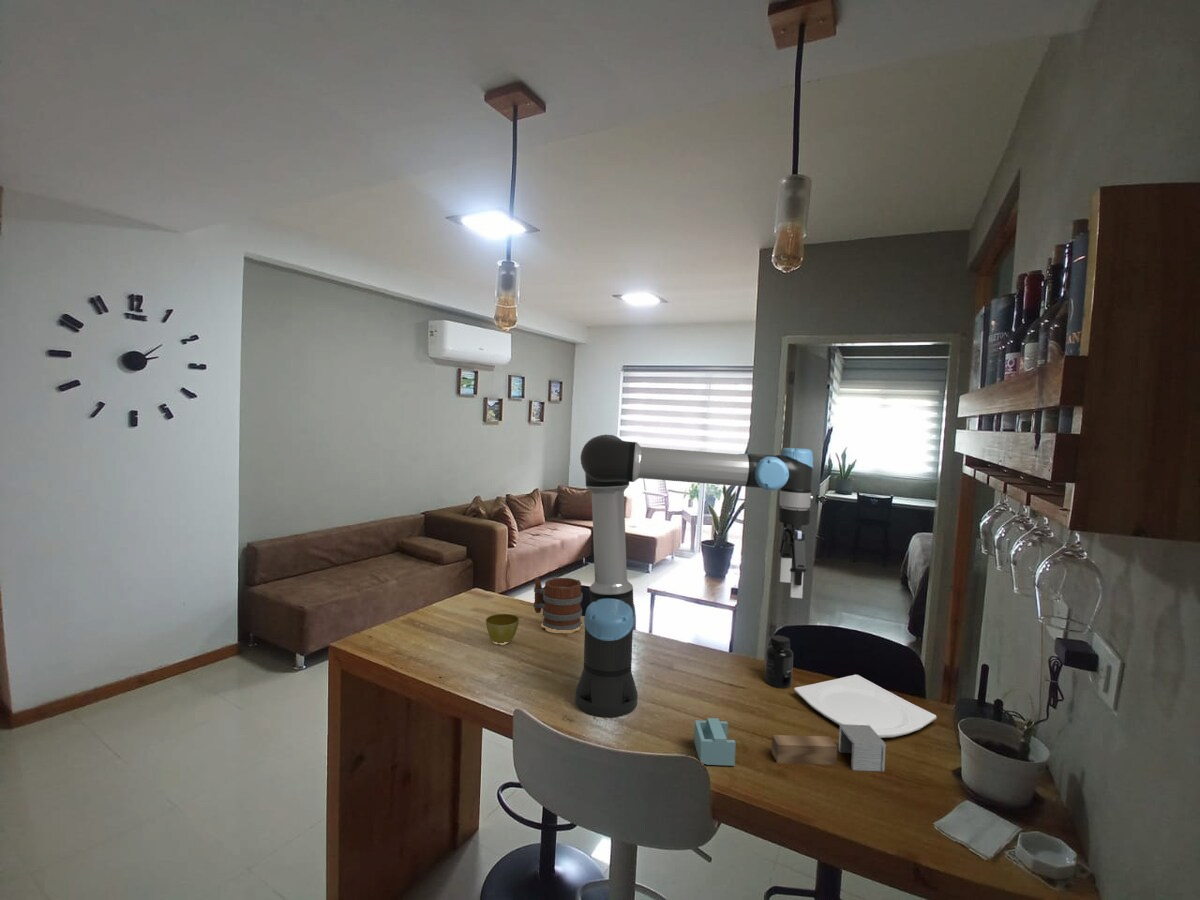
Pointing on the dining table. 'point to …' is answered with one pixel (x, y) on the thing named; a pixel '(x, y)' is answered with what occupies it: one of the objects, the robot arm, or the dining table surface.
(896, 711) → the plate
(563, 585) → the mug
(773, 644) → the supplement bottle
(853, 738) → the end cap
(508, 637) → the flower pot
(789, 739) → the batten
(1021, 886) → the dining table surface
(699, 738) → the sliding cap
